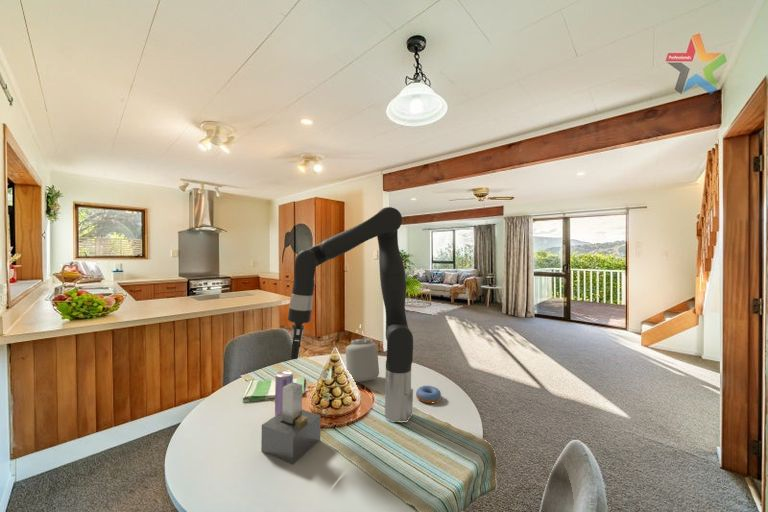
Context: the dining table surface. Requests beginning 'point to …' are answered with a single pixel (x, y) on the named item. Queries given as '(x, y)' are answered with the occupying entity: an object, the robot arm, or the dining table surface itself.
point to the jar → (362, 360)
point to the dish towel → (265, 390)
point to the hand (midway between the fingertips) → (294, 354)
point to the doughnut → (428, 394)
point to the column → (291, 403)
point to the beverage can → (281, 388)
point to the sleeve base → (290, 436)
